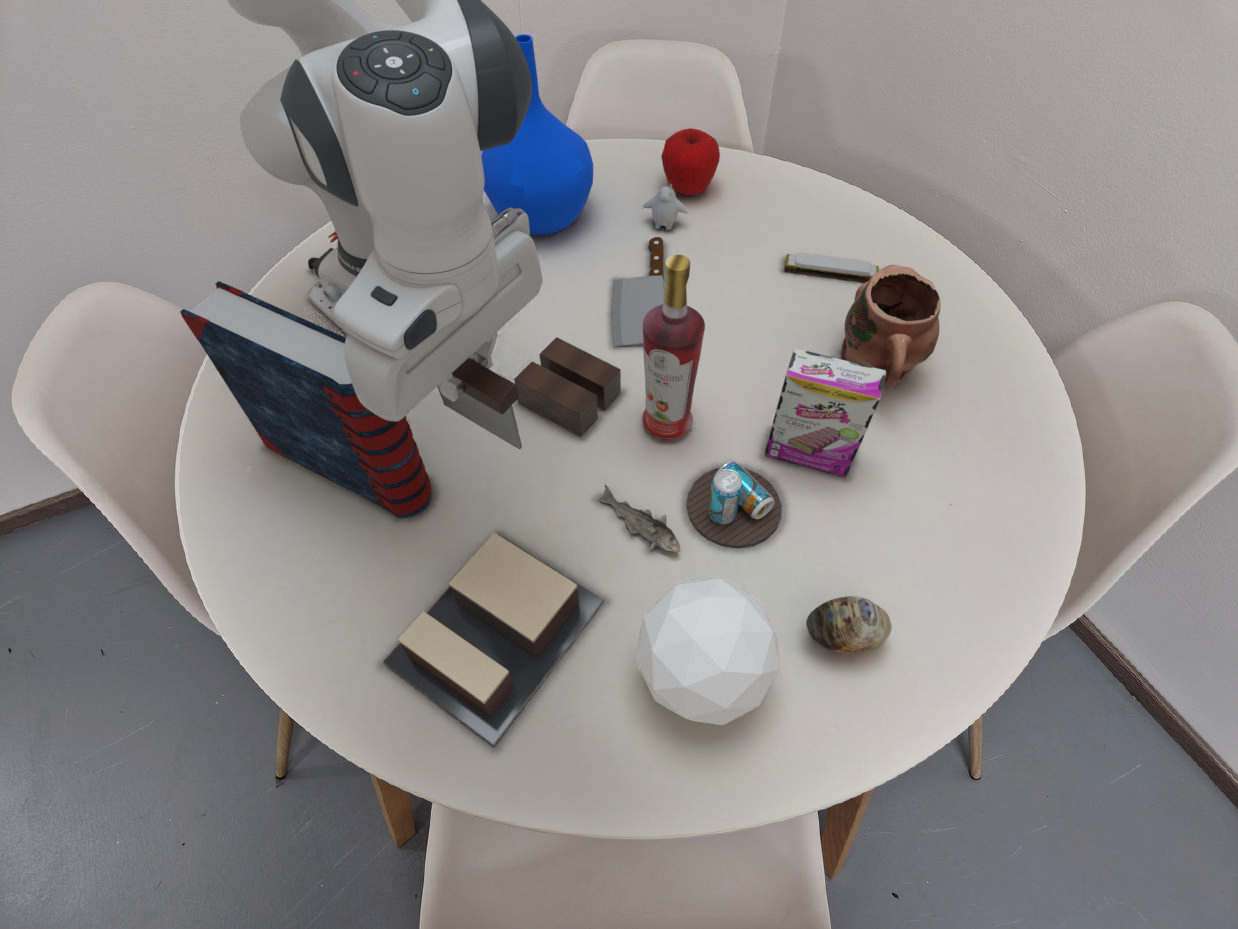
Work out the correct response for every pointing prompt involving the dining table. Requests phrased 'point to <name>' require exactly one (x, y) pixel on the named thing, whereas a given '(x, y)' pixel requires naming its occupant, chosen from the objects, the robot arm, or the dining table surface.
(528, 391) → the slicer stand
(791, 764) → the dining table surface
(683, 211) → the figurine
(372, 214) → the robot arm
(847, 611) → the seashell
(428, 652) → the cake slice
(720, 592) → the geometric shape
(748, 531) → the drink cans on coaster
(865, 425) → the candy bar box
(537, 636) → the cake
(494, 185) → the vase
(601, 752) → the dining table surface
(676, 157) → the apple
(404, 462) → the book
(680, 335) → the liquor
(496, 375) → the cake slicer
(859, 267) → the harmonica
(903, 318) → the decorative planter
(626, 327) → the kitchen cleaver
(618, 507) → the fish
